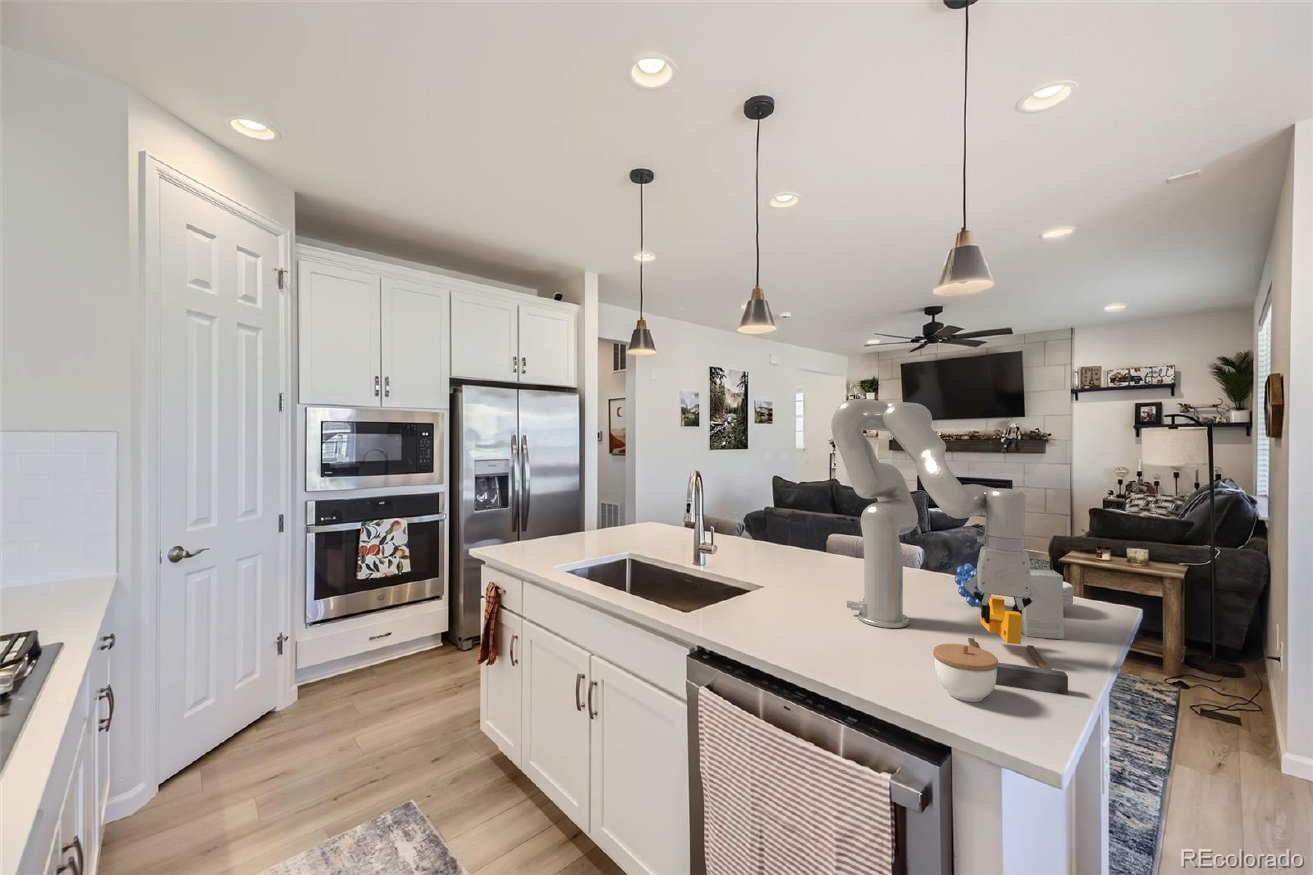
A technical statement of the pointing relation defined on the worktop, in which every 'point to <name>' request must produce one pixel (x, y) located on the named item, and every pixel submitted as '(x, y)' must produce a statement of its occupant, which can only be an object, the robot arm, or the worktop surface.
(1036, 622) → the skincare box
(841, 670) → the worktop surface
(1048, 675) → the rail
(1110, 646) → the worktop surface
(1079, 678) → the worktop surface
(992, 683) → the lidded jar
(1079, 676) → the worktop surface
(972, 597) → the grapes
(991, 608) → the pipe clamp
